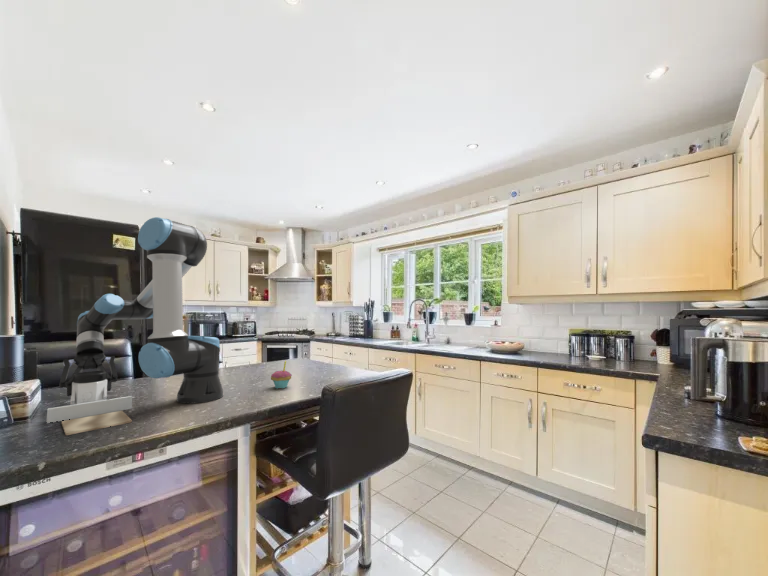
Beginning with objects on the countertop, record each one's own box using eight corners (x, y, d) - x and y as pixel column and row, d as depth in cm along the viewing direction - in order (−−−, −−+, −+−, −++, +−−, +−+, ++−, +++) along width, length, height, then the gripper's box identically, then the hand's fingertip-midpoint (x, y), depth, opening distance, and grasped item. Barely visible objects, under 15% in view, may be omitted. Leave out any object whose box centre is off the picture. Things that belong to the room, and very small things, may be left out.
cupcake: (294, 385, 146) (294, 357, 147) (286, 390, 137) (287, 360, 138) (275, 385, 147) (276, 357, 147) (266, 389, 138) (267, 360, 139)
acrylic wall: (130, 407, 112) (131, 395, 112) (131, 408, 111) (132, 396, 111) (46, 422, 97) (47, 408, 97) (46, 423, 96) (47, 409, 96)
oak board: (122, 412, 106) (122, 410, 106) (131, 422, 97) (131, 420, 97) (61, 423, 96) (61, 421, 96) (65, 435, 87) (66, 433, 87)
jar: (66, 415, 104) (69, 376, 105) (72, 408, 110) (75, 372, 111) (103, 410, 109) (106, 373, 109) (107, 404, 115) (109, 369, 116)
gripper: (123, 351, 129) (126, 401, 116) (50, 355, 115) (45, 414, 102) (126, 338, 125) (129, 389, 112) (51, 341, 112) (45, 399, 99)
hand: (89, 400), depth 107 cm, fingers open, 7 cm apart
